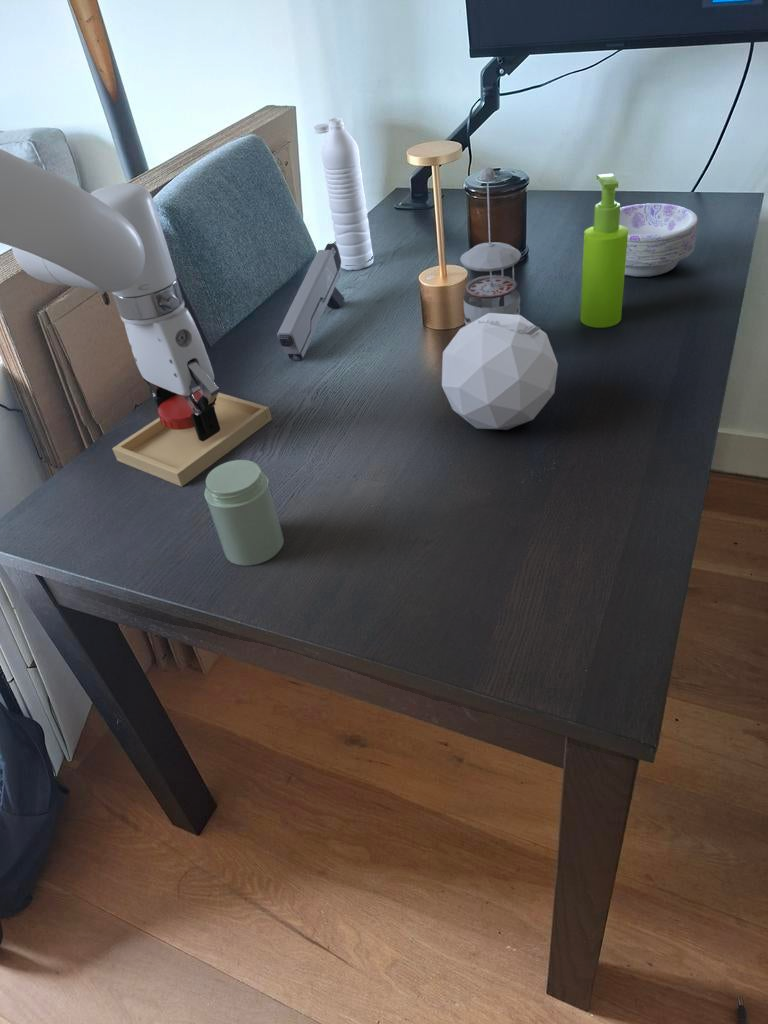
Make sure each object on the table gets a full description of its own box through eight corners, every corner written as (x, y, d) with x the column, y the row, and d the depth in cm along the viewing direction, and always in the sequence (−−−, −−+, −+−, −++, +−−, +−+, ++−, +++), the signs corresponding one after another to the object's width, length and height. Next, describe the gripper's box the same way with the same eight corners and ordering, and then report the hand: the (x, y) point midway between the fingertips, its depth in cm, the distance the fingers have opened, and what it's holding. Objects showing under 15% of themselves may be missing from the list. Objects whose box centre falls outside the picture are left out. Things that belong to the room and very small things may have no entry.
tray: (181, 487, 93) (177, 473, 91) (117, 460, 99) (111, 448, 98) (272, 419, 102) (268, 407, 101) (207, 399, 109) (203, 387, 108)
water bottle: (351, 256, 146) (329, 113, 131) (380, 258, 143) (361, 113, 128) (326, 274, 141) (301, 127, 125) (356, 277, 138) (334, 127, 122)
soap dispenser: (615, 305, 116) (625, 168, 104) (624, 325, 111) (636, 183, 98) (576, 309, 117) (581, 173, 104) (583, 329, 112) (590, 188, 99)
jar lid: (198, 396, 102) (195, 385, 101) (224, 413, 98) (221, 402, 97) (152, 417, 99) (148, 406, 98) (176, 436, 95) (172, 425, 94)
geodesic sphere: (595, 351, 94) (524, 262, 89) (586, 413, 84) (505, 316, 79) (500, 410, 103) (431, 332, 98) (482, 472, 93) (404, 388, 88)
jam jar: (255, 573, 79) (233, 503, 73) (211, 553, 82) (186, 484, 76) (296, 536, 83) (278, 466, 77) (252, 518, 86) (232, 450, 80)
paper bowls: (594, 286, 123) (597, 237, 118) (596, 250, 134) (599, 204, 129) (695, 284, 119) (702, 233, 114) (688, 247, 130) (695, 200, 125)
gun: (351, 286, 131) (338, 235, 124) (308, 387, 117) (290, 336, 109) (338, 286, 132) (324, 235, 124) (293, 386, 118) (274, 336, 110)
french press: (448, 361, 109) (435, 179, 93) (478, 325, 117) (471, 152, 101) (513, 369, 105) (511, 181, 89) (540, 332, 113) (542, 152, 97)
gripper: (221, 300, 86) (256, 432, 97) (133, 275, 95) (174, 397, 106) (167, 327, 81) (211, 462, 93) (82, 298, 91) (130, 423, 102)
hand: (191, 426), depth 99 cm, fingers closed on jar lid, 6 cm apart
